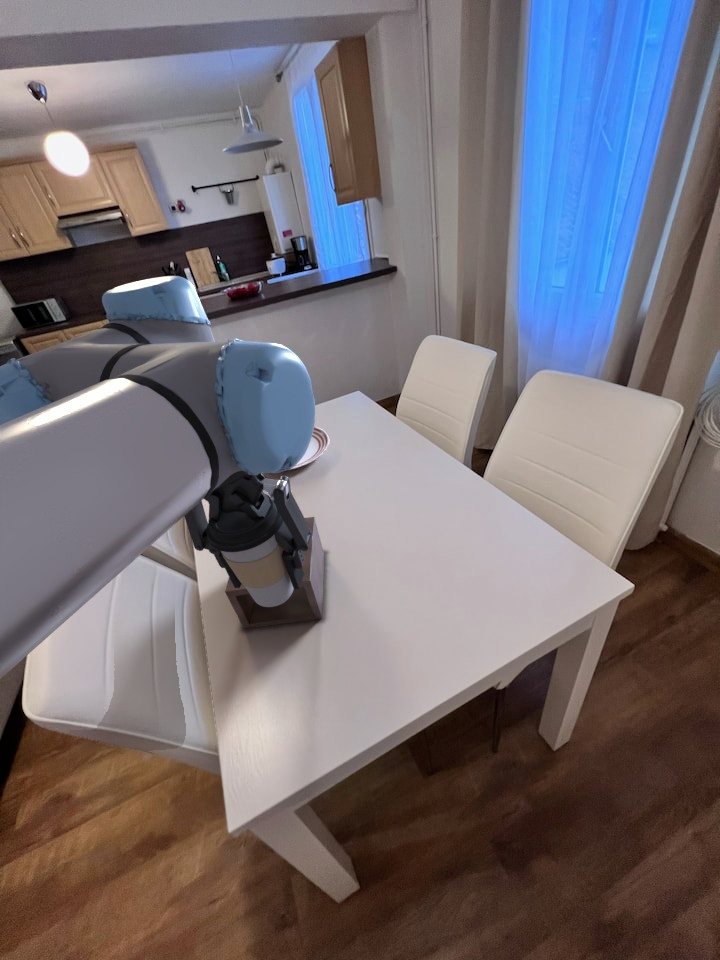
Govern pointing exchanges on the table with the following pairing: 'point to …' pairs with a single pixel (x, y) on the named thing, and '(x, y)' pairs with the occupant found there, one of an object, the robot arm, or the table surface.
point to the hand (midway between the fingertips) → (269, 580)
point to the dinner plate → (314, 447)
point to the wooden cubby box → (301, 601)
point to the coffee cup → (253, 553)
